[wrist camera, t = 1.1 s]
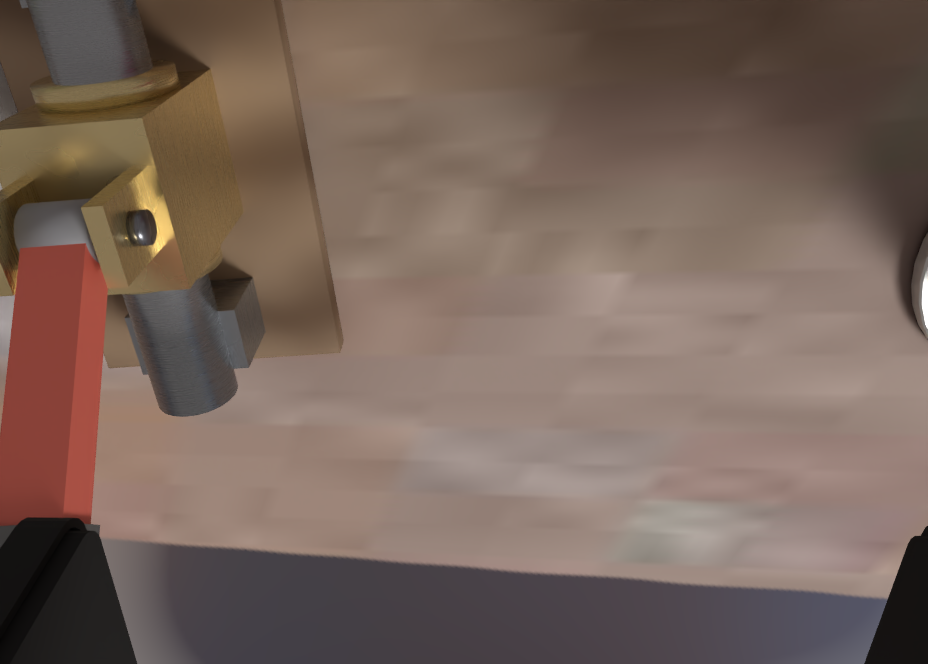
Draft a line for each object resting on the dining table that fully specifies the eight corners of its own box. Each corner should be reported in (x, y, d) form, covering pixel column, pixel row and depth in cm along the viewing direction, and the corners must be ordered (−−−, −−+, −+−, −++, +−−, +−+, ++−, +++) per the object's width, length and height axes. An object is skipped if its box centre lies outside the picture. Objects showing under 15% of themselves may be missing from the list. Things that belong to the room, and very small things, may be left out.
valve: (21, -116, 31) (-197, -112, 21) (164, -130, 31) (13, -134, 21) (167, 355, 41) (67, 508, 31) (275, 348, 41) (210, 500, 31)
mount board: (-47, -123, 32) (-65, -123, 31) (252, -154, 31) (244, -155, 30) (118, 356, 43) (108, 368, 42) (343, 340, 42) (340, 352, 41)
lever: (51, 219, 29) (14, 192, 27) (123, 214, 29) (91, 186, 26) (5, 706, 24) (-44, 721, 22) (89, 703, 24) (47, 717, 22)
